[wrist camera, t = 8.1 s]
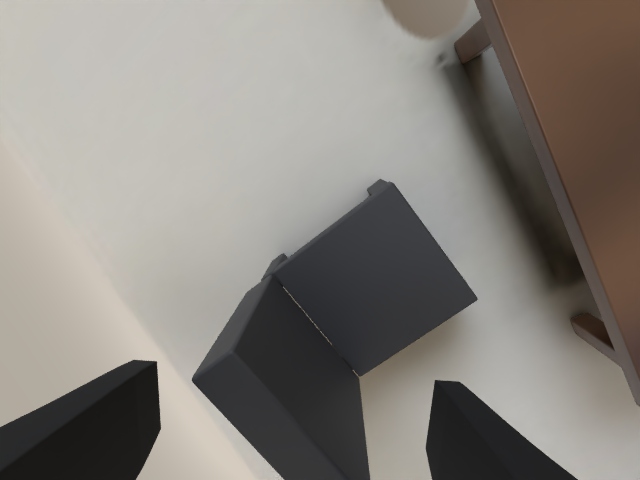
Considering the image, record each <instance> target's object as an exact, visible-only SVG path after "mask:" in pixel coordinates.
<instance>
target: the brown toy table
mask: <svg viewBox="0 0 640 480" xmlns="http://www.w3.org/2000/svg"><path fill="white" fill-rule="evenodd" d="M475 3H476V5H477V8H478V10H479V13H480V15H481V19H480V20H479V21H478V22H477V23H475V24H474V25H473V26H472V27H471V28H470V29H469V30H468V31H467V32H466V33H465V34H464V35H463V36H462V37H461V38H459V39H458V40H457V41H456V42H455V43H454V46H455V48H456V50H457V53H458V55H459V57H460V60H461V62H462V64H464V63H466V62H468V61H469V60H471V59H473V58H475V57H477V56H478V55H480V54H482V53H483V52H485V51H486V50H488V49H489V48H491V47H492V46H493V48H494V50H495V53H496V55H497V58H498V60H499V63H500V65H501V68H502V70H503V73H504V75H505V78H506V80H507V83H508V85H509V88H510V90H511V93H512V95H513V98H514V100H515V103H516V105H517V108H518V110H519V113H520V115H521V117H522V120H523V122H524V125H525V127H526V130H527V132H528V135H529V137H530V140H531V142H532V145H533V147H534V150H535V152H536V155H537V157H538V160H539V162H540V165H541V167H542V170H543V172H544V175H545V177H546V180H547V182H548V185H549V187H550V190H551V192H552V195H553V197H554V200H555V202H556V205H557V207H558V210H559V212H560V215H561V217H562V220H563V222H564V225H565V227H566V230H567V232H568V235H569V237H570V240H571V242H572V245H573V247H574V250H575V252H576V255H577V257H578V260H579V262H580V265H581V267H582V270H583V272H584V275H585V277H586V280H587V282H588V285H589V287H590V290H591V292H592V295H593V297H594V300H595V302H596V305H597V307H598V310H599V312H600V315H601V317H602V320H603V321H601V320H600V319H598V318H597V317H595V316H593V315H592V314H590V313H588V312H586V313H584V314H582V315H579V316H577V317H575V318H572V319H571V323H572V325H573V328H574V330H575V332H576V334H577V335H578V336H580V337H581V338H582V339H584V340H585V341H586V342H588V343H589V344H590V345H592V346H593V347H595V348H596V349H597V350H599V351H600V352H601V353H603V354H604V355H605V356H607V357H608V358H610V359H611V360H612V361H614V362H615V363H616V364H618V365H619V366H620V367H622V369H623V372H624V374H625V377H626V379H627V382H628V384H629V387H630V389H631V392H632V394H633V397H634V399H635V402H636V404H637V405H639V406H640V0H475Z"/></svg>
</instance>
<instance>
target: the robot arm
mask: <svg viewBox="0 0 640 480" xmlns="http://www.w3.org/2000/svg"><path fill="white" fill-rule="evenodd" d="M160 430H161V423H160V408H159V391H158V374H157V362H156V361H142V360H133V361H131V362H128V363H126V364H124V365H121V366H119V367H117V368H115V369H113V370H111V371H109V372H107V373H105V374H104V375H102V376H100V377H98V378H96V379H94V380H92V381H90V382H89V383H87V384H85V385H83V386H81V387H79V388H77V389H75V390H73V391H71V392H69V393H68V394H66V395H64V396H62V397H60V398H58V399H56V400H54V401H52V402H50V403H48V404H46V405H44V406H42V407H40V408H38V409H36V410H34V411H32V412H30V413H28V414H26V415H24V416H22V417H20V418H18V419H16V420H14V421H12V422H10V423H8V424H6V425H4V426H2V427H0V480H136V478H137V476H138V475H139V473H140V471H141V470H142V468H143V466H144V464H145V462H146V460H147V458H148V456H149V454H150V452H151V449H152V447H153V445H154V443H155V441H156V438H157V436H158V434H159V432H160ZM426 452H427V457H428V462H429V467H430V472H431V476H432V480H578V479H576V478H575V477H574V476H572V475H571V474H570V473H569V472H567V471H566V470H565V469H563V468H562V467H561V466H560V465H558V464H557V463H556V462H554V461H553V460H552V459H550V458H549V457H548V456H547V455H545V454H544V453H543V452H542V451H540V450H539V449H538V448H537V447H536V446H534V445H533V444H532V443H531V442H529V441H528V440H527V439H526V438H525V437H523V436H522V435H521V434H520V433H519V432H518V431H516V430H515V429H514V428H513V427H512V426H510V425H509V424H508V423H507V422H506V421H505V420H503V419H502V418H501V417H500V416H499V415H498V414H497V413H495V412H494V411H493V410H492V409H491V408H490V407H489V406H487V405H486V404H485V403H484V402H483V401H482V400H481V399H479V398H478V397H477V396H476V395H475V394H474V393H473V392H471V391H470V390H469V389H468V388H467V387H465V386H464V385H463V384H462V383H460V382H456V381H441V380H435V384H434V392H433V399H432V406H431V413H430V421H429V428H428V435H427V442H426Z"/></svg>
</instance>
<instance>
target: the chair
mask: <svg viewBox="0 0 640 480" xmlns="http://www.w3.org/2000/svg"><path fill="white" fill-rule="evenodd" d="M367 191H368V192H369V193H370V195H371V196H369V197H368V198H367V199H365V200H364V201H363V202H361V203H360V204H359V205H358V206H356V207H355V208H354V209H352V210H351V211H350V212H348V213H347V214H346V215H344V216H343V217H342V218H340V219H339V220H338V221H336V222H335V223H334V224H332V225H331V226H330V227H328V228H327V229H326V230H324V231H323V232H322V233H321V234H319V235H318V236H317V237H315V238H314V239H313V240H311V241H310V242H309V243H307V244H306V245H305V246H303V247H302V248H301V249H299V250H298V251H297V252H295V253H294V254H293V255H291V256H290V257H289V258H287V256H286V255H285V254H281V255H280V256H278V257H277V258H276V259H275V260H273V261H272V263H271V264H270V266H269V268H268V269H267V271H266V273H265V274H264V276H263V278H262V280H261V282H260V283H259V284H257V285H256V286H255V287H253V288H252V289H251V290H249V291H248V292H247V293H246V295H245V296H244V298H243V299H242V301H241V302H240V304H239V305H238V307H237V309H236V310H235V312H234V313H233V315H232V316H231V318H230V319H229V321H228V323H227V324H226V326H225V327H224V329H223V330H222V332H221V334H220V335H219V337H218V338H217V340H216V341H215V343H214V344H213V346H212V348H211V349H210V351H209V352H208V354H207V355H206V357H205V359H204V360H203V362H202V363H201V365H200V366H199V368H198V369H197V371H196V373H195V374H194V376H193V377H192V381H193V383H194V384H195V385H196V386H197V387H198V388H199V389H200V390H201V392H202V393H203V394H204V395H205V396H206V397H207V398H208V399H209V400H210V401H211V402H212V403H213V404H214V405H215V406H216V407H217V409H218V410H219V411H220V412H221V413H222V414H223V415H224V416H225V417H226V418H227V419H228V420H229V421H230V422H231V423H232V424H233V426H234V427H235V428H236V429H237V430H238V431H239V432H240V433H241V434H242V435H243V436H244V437H245V438H246V439H247V440H248V441H249V443H250V444H251V445H252V446H253V447H254V448H255V449H256V450H257V451H258V452H259V453H260V454H261V455H262V456H263V457H264V458H265V460H266V461H267V462H268V463H269V464H270V465H271V466H272V467H273V468H274V469H275V470H276V471H277V472H278V473H279V474H280V475H281V477H282V478H283V479H284V480H370V474H369V465H368V456H367V447H366V438H365V429H364V420H363V411H362V402H361V393H360V384H359V378H358V377H357V375H356V374H355V373H354V372H353V371H352V370H353V369H354V371H355V372H356V373H357V374H358V375H359V376H362V375H364V374H365V373H367V372H368V371H370V370H371V369H373V368H375V367H376V366H378V365H379V364H381V363H382V362H384V361H385V360H387V359H388V358H390V357H391V356H393V355H394V354H396V353H397V352H399V351H400V350H402V349H404V348H405V347H407V346H408V345H410V344H411V343H413V342H414V341H416V340H417V339H419V338H420V337H422V336H423V335H425V334H426V333H428V332H429V331H431V330H432V329H434V328H436V327H437V326H439V325H440V324H442V323H443V322H445V321H446V320H448V319H449V318H451V317H452V316H454V315H455V314H457V313H458V312H460V311H461V310H463V309H465V308H466V307H468V306H469V305H471V304H472V303H474V302H475V301H477V300H478V299H477V297H476V295H475V294H474V292H473V291H472V290H471V288H470V287H469V286H468V284H467V283H466V282H465V280H464V279H463V277H462V276H461V275H460V273H459V272H458V271H457V269H456V268H455V267H454V265H453V264H452V262H451V261H450V260H449V258H448V257H447V256H446V254H445V253H444V251H443V250H442V249H441V247H440V246H439V245H438V243H437V242H436V241H435V239H434V238H433V236H432V235H431V234H430V232H429V231H428V230H427V228H426V227H425V226H424V224H423V223H422V221H421V220H420V219H419V217H418V216H417V215H416V213H415V212H414V210H413V209H412V208H411V206H410V205H409V204H408V202H407V201H406V200H405V198H404V197H403V195H402V194H401V193H400V191H399V190H398V189H397V187H396V186H395V185H394V183H392V182H388V183H387V182H385V181H383V180H381V179H379V180H378V181H377V182H376V183H374V184H373V185H372V186H370V187H369V188H368V189H367ZM283 286H284V287H285V288H286V289H287V291H288V292H289V293H290V294H291V295H292V297H293V298H294V299H295V300H296V301H297V303H298V304H299V305H300V306H301V307H302V309H303V310H304V311H305V312H306V313H307V315H308V316H309V317H310V318H311V319H312V321H313V322H314V323H315V324H316V325H317V326H318V328H319V329H320V330H321V331H322V332H323V334H324V335H325V336H326V337H327V338H328V340H329V341H330V342H331V343H332V346H331V344H330V343H329V342H328V341H327V340H326V338H325V337H324V336H323V335H322V334H321V332H320V331H319V330H318V329H317V328H316V326H315V325H314V324H313V323H312V322H311V320H310V319H309V318H308V317H307V316H306V314H305V313H304V312H303V311H302V310H301V309H300V307H299V306H298V305H297V304H296V303H295V301H294V300H293V299H292V298H291V297H290V295H289V294H288V293H287V292H286V291H285V289H284V288H283Z"/></svg>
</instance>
